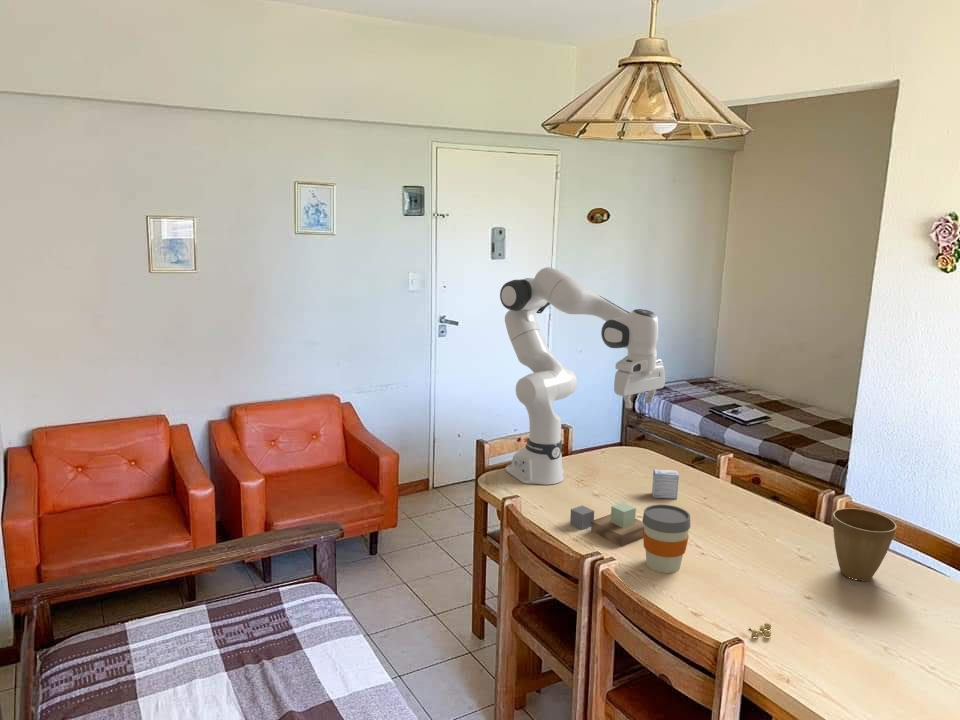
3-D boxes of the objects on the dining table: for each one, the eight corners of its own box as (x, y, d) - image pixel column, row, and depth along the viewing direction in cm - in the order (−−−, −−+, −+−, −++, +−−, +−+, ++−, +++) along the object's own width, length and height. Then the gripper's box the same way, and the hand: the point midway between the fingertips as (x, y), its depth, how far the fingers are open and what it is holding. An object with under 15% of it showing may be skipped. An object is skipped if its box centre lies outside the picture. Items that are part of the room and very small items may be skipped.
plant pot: (864, 594, 187) (872, 535, 184) (814, 568, 200) (820, 513, 197) (900, 581, 194) (909, 524, 191) (850, 557, 207) (857, 503, 204)
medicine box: (675, 494, 250) (677, 470, 248) (677, 499, 246) (679, 474, 244) (651, 493, 251) (653, 468, 249) (653, 498, 246) (655, 473, 245)
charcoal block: (570, 524, 225) (570, 509, 224) (581, 520, 228) (582, 505, 227) (581, 530, 222) (582, 514, 220) (593, 526, 225) (594, 510, 224)
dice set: (769, 630, 172) (770, 623, 171) (774, 643, 167) (775, 635, 166) (746, 628, 173) (747, 621, 172) (751, 641, 168) (752, 633, 167)
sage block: (610, 522, 219) (611, 506, 218) (622, 518, 222) (623, 502, 221) (623, 528, 215) (623, 512, 214) (634, 523, 218) (635, 508, 217)
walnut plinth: (590, 533, 221) (591, 521, 220) (618, 523, 228) (618, 511, 227) (621, 548, 211) (622, 535, 210) (648, 537, 218) (649, 524, 218)
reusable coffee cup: (688, 558, 205) (692, 508, 202) (685, 579, 193) (689, 526, 190) (642, 551, 209) (646, 501, 206) (636, 571, 197) (640, 519, 194)
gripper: (655, 356, 237) (652, 398, 240) (611, 364, 225) (609, 408, 228) (671, 360, 232) (668, 402, 235) (627, 368, 220) (624, 412, 223)
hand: (638, 405), depth 231 cm, fingers open, 8 cm apart
